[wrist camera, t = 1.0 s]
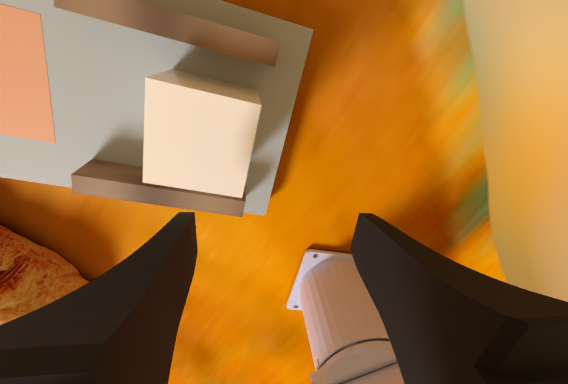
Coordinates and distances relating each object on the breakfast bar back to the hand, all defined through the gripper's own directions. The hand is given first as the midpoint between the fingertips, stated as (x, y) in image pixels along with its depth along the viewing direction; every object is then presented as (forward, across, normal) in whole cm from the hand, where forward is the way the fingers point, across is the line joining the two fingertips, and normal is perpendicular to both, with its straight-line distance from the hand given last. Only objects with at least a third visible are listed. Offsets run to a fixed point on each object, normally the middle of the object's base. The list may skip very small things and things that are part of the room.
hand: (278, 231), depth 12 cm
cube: (+8, +4, -3) cm, 9 cm away
